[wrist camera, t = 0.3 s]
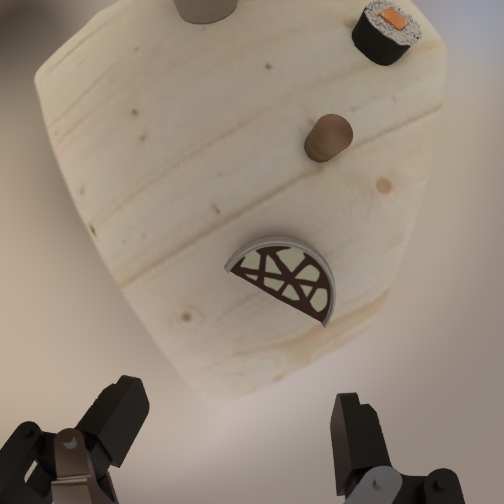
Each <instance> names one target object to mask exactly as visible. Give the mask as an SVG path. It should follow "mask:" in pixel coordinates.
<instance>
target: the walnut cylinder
mask: <svg viewBox="0 0 504 504" xmlns="http://www.w3.org/2000/svg"><path fill="white" fill-rule="evenodd" d="M352 139H353V131H352V128H351V126H350V124H349V123H348V121H347V120H346V119H344V118H343V117H341V116H339V115H335V114H328V115H325V116H323V117H321V118H320V119H319V120H318V122H317V123H316V125H315V126H314V128H313V129H312V131H311V133H310V134H309V136H308V137H307V139H306V141H305V145H304V148H305V152H306V154H307V155H308V156H309V157H310V158H311V159H312V160H314V161H316V162H325V161H328V160H329V159H331V158H332V157H334V156H335V155H337V154H338V153H340V152H341V151H343V150H344V149H346V148H347V147H348V146H349V145H350V144H351V142H352Z"/></svg>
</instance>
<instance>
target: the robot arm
mask: <svg viewBox="0 0 504 504" xmlns="http://www.w3.org/2000/svg"><path fill="white" fill-rule="evenodd" d="M173 1H174V3H175V5H176V7H177V9H178V11H179V13H180V15H181V17H182V18H183V19H184V20H186V21H188V22H191V23H197V24H204V23H211V22H215V21H218V20H220V19H222V18H224V17H226V16H228V15H229V14H230V13H231V12H232V11H233V10H234V9H235V7H236V5H237V0H173ZM148 413H149V401H148V398H147V395H146V392H145V389H144V386H143V383H142V381H141V379H140V378H136V377H131V376H127V375H123V376H121V377H120V379H119V380H118V381H117V383H116V384H111V385H110V386H108V387H106V388H105V389H104V390H103V391H102V392H101V393H100V395H99V396H98V399H96V400H95V401H94V403H93V405H91V407H90V408H89V409H88V411H87V412H86V414H85V415H84V416H83V418H82V419H81V420H80V422H79V423H78V424H77V426H76V427H75V428H67V429H63V430H61V431H60V432H58V433H57V434H56V433H49V432H43V431H42V430H41V429H40V427H39V426H38V425H37V424H36V423H35V422H31V421H27V422H24V423H22V424H20V425H19V426H18V427H17V429H16V430H15V431H14V432H13V434H12V435H11V436H10V438H9V439H8V440H7V442H6V443H5V444H4V446H3V447H2V448H1V450H0V504H52V502H54V504H119V502H118V499H117V496H116V493H115V490H114V487H113V483H112V480H111V476H110V473H109V471H108V468H109V466H110V465H113V466H115V467H118V468H120V466H121V464H122V463H123V461H124V459H125V457H126V455H127V453H128V451H129V449H130V447H131V445H132V443H133V441H134V440H135V438H136V436H137V434H138V432H139V430H140V428H141V427H142V425H143V423H144V421H145V419H146V417H147V415H148ZM330 430H331V440H332V448H333V458H334V468H335V479H336V491H337V496H342V495H345V502H344V503H343V504H465V501H464V498H463V494H462V490H461V486H460V483H459V480H458V477H457V475H456V474H455V473H454V472H453V471H451V470H449V469H445V468H442V469H437V470H434V471H433V472H431V473H430V474H429V475H428V476H408V475H403V474H401V473H399V472H398V471H397V470H396V469H394V468H393V467H392V465H391V462H390V459H389V455H388V451H387V448H386V444H385V440H384V437H383V433H382V430H381V426H380V425H379V419H378V416H377V413H376V411H375V410H374V409H373V408H372V407H371V406H370V405H369V404H362V405H360V402H359V398H358V395H357V393H355V392H354V393H339V394H337V396H336V400H335V404H334V408H333V412H332V416H331V423H330ZM34 460H35V461H36V462H37V466H36V467H35V469H34V470H33V472H32V474H31V475H30V477H29V478H28V480H27V482H26V483H25V480H24V477H25V475H26V473H27V471H28V470H29V468H30V467H31V465H32V463H33V462H34Z"/></svg>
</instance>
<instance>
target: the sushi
mask: <svg viewBox="0 0 504 504" xmlns="http://www.w3.org/2000/svg"><path fill="white" fill-rule="evenodd" d="M400 8H401V7H400V6H397V7H395V5H393V2H390V3H389V2H387V1H383V0H378V1H377V0H376V1H373V3H372V2H370V4H369V5H368V6H366V7H365V9H364V11H363V13H362V15H361V17H360V19H359V21H358V23H357V25H356V26H355V28H354V30H353V32H352V39H353V41H354V43H355V46H356V47H357V48H358V49H359V50H360V51H361V52H362V53H363V54H364V55H365V56H366V57H368V58H369V59H370V60H371V61H373V62H375V63H376V64H379V65H384V66H388V65H391V64H393V63H394V62H396V61H397V60H398V59H399V58H400V57H401V56H402V55H403V54H404V53H405V52H406V51H407V50H408V49H409V48H410V47H411V46H412V45H413V44H414V42H415V43H417V42H418V39H421V37H422V35H421V34H422V31H421V30H420V29H419V27H420V25H419V24H416V23H417V21H413V18H412V16H411V15H410V14H409V15H408V14H406V13H405V12H402V11H401V10H400Z"/></svg>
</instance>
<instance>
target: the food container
mask: <svg viewBox="0 0 504 504" xmlns="http://www.w3.org/2000/svg"><path fill="white" fill-rule="evenodd" d="M225 271H227V274H228V273H229V272H230V271H231V272H232V273H234V274H235V275H237V276H239V277H241V278H243V279H245V280H247V281H248V282H250V283H252V284H254V285H255V286H257V287H259V288H260V289H262V290H264V291H265V292H267V293H269V294H270V295H272V296H274V297H275V298H277V299H279V300H281V301H283V302H285V303H287V304H289V305H291V306H292V307H294V308H296V309H298V310H300V311H302V312H304V313H306V314H307V315H309V316H311V317H313V318H315V319H317V320H319V321H320V322H321V323H322V325H323V326H324V328H325V327H326V326H327V324H328V322H329V320H330V318H331V316H332V314H333V311H334V306H335V299H336V291H335V282H334V278H333V274H332V271H331V269H330V267H329V265H328V263H327V262H326V260H325V259H324V258H323V256H322V255H321V254H320V253H319V252H318V251H317V250H316V249H314V248H313V247H312V246H310V245H309V244H307V243H305V242H303V241H301V240H298V239H294V238H291V237H284V236H270V237H265V238H260V239H257V240H255V241H252V242H250V243H248V244H246V245H245V246H243V247H242V248H240V249H239V250H238V251H236V252H235V253H234V254H233V256H232V257H231V258H230V259H229V260H228V262H227V263H226V264H225Z"/></svg>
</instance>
